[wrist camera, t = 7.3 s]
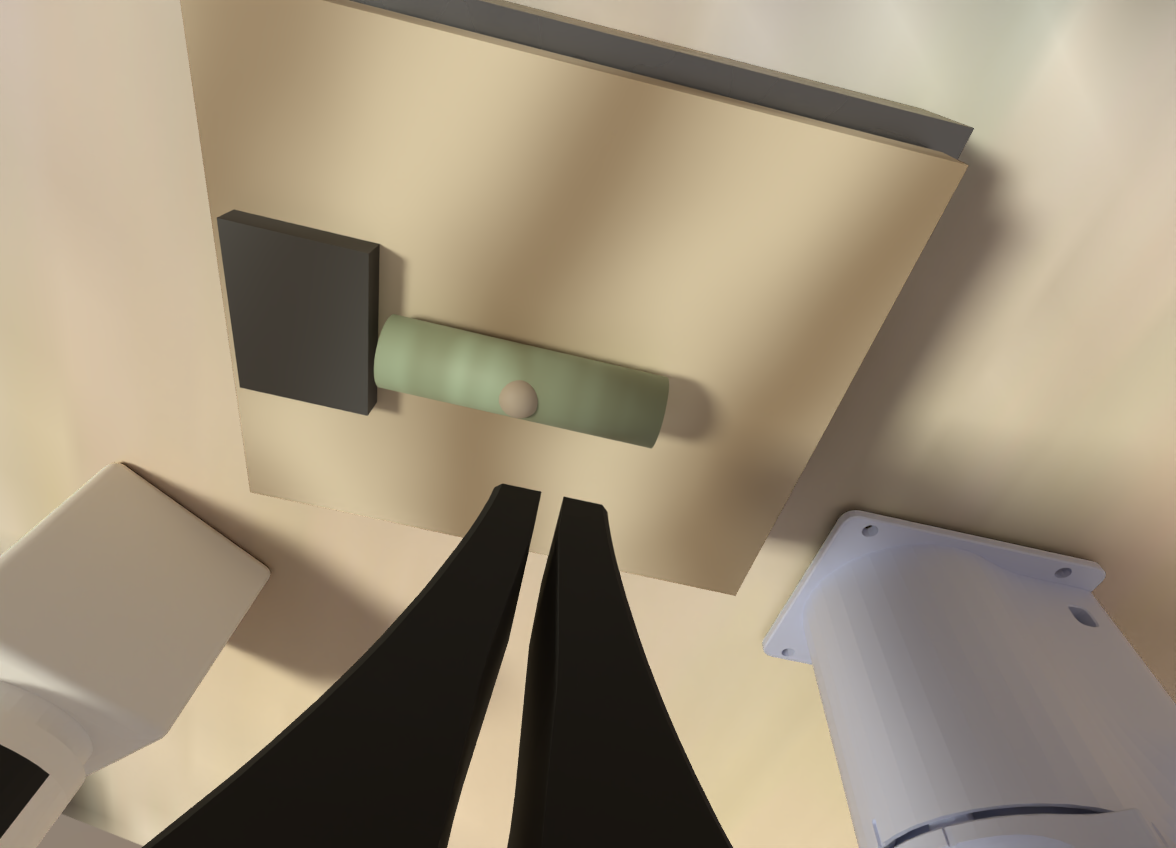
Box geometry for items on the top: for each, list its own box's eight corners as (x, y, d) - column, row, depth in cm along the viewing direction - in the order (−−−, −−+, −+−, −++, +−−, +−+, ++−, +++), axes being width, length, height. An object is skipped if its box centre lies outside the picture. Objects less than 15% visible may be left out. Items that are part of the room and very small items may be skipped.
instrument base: (922, 109, 14) (973, 127, 12) (729, 512, 21) (739, 571, 19) (267, -62, 13) (192, -75, 11) (301, 420, 21) (260, 470, 18)
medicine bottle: (32, 532, 25) (-367, 876, 15) (117, 455, 22) (-304, 814, 12) (185, 627, 28) (-66, 967, 18) (278, 569, 25) (40, 934, 15)
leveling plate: (942, 152, 12) (1020, 191, 9) (730, 564, 19) (743, 651, 16) (217, -33, 11) (90, -47, 9) (272, 465, 18) (210, 540, 15)
